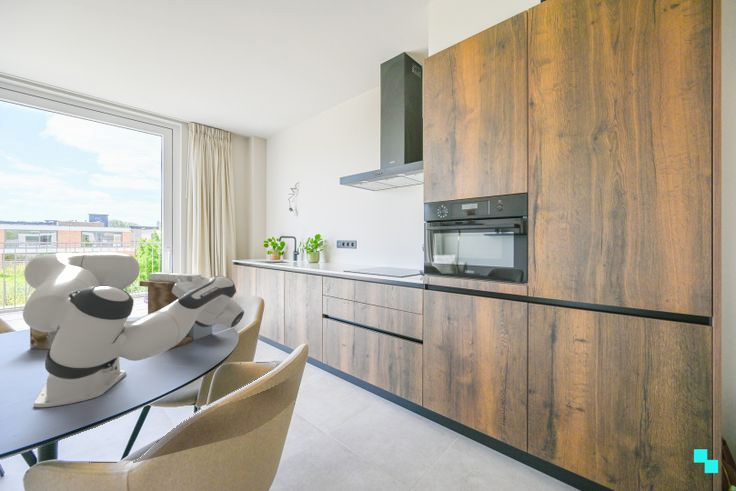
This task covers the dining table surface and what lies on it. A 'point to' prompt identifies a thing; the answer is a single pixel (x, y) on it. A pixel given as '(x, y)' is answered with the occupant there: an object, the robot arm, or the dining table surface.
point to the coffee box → (41, 339)
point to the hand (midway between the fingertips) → (187, 277)
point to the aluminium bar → (173, 277)
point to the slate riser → (199, 331)
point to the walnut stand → (161, 299)
